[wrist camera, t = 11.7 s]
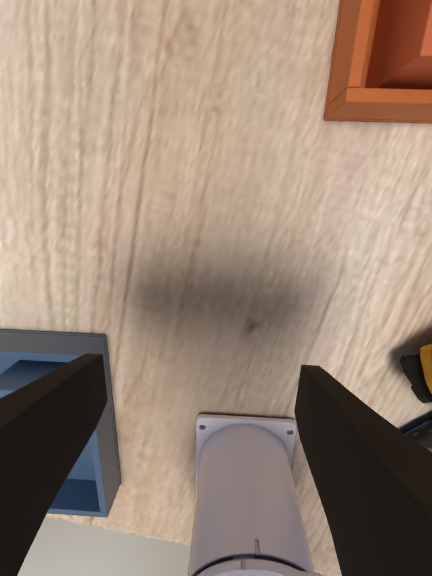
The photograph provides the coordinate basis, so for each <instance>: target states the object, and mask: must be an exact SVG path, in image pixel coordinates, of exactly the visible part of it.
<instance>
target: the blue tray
mask: <svg viewBox="0 0 432 576" xmlns="http://www.w3.org/2000/svg"><path fill="white" fill-rule="evenodd" d="M86 353H88V354H103V360H104V370H105V379H106V388H107V397H108V401H107V404H106V406H105V409H104V411H103V414H102V416H101V418H100V420H99V423H98V425H97V427H96V429H95V431H94V432H93V434H92V436H91V438H90V439H89V441H88V443H87V445H86V446H85V448H84V450H83V451H82V453H81V455H80V456H79V458H78V460H77V462H76V463H75V465H74V467H73V468H72V470H71V472H70V473H69V475H68V477H67V478H66V480H65V482H64V483H63V485H62V487H61V489H60V490H59V492H58V494H57V495H56V497H55V499H54V501H53V503H52V505H51V506H50V508H49V510H48V512H47V513H51V514H65V515H79V516H93V517H108V515H109V513H110V510H111V507H112V505H113V502H114V499H115V497H116V494H117V492H118V489H119V486H120V484H121V478H120V468H119V459H118V449H117V439H116V429H115V419H114V409H113V400H112V390H111V380H110V370H109V360H108V351H107V341H106V335H103V334H84V333H64V332H45V331H25V330H6V329H0V374H2V373H3V372H4V371H5V370H7V369H8V368H9V367H11V366H12V365H13V364H15V363H16V362H17V361H19V360H35V361H54V362H70V361H72V360H74V359H76V358H78V357H80V356H82V355H84V354H86Z"/></svg>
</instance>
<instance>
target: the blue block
mask: <svg viewBox="0 0 432 576" xmlns="http://www.w3.org/2000/svg"><path fill="white" fill-rule="evenodd" d="M66 363H68V362H54V361H35V360H19V361H17V362H16V363H15V364H13V365H12V366H11V367H9V368H8V369H7V370H5V371H4V372H3V373H2V374H0V398H2V397H4V396H6V395H8V394H10V393H12V392H14V391H16V390H18V389H20V388H21V387H23V386H25V385H27V384H29V383H31V382H33V381H35V380H37V379H39V378H40V377H42V376H44V375H46V374H48V373H50V372H51V371H53V370H55V369H57V368H59V367H61V366H62V365H64V364H66Z"/></svg>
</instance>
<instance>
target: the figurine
mask: <svg viewBox="0 0 432 576" xmlns="http://www.w3.org/2000/svg"><path fill="white" fill-rule="evenodd" d="M420 350H421V356H420V355H419V354H408V355H406V356H402V357H401V358H400V363H401V366H402V369H403V372H404V374H405V375H406V376H407V378H408V379H409V381H410V382H411V384H412V387H411V389H412V390H413V392H414V393H415V395H416V396H417V398H418V399H419V400H420V401H421V402H423V403H427V402H432V344H430V345H426V346H423V347H422V348H421V349H420Z"/></svg>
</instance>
